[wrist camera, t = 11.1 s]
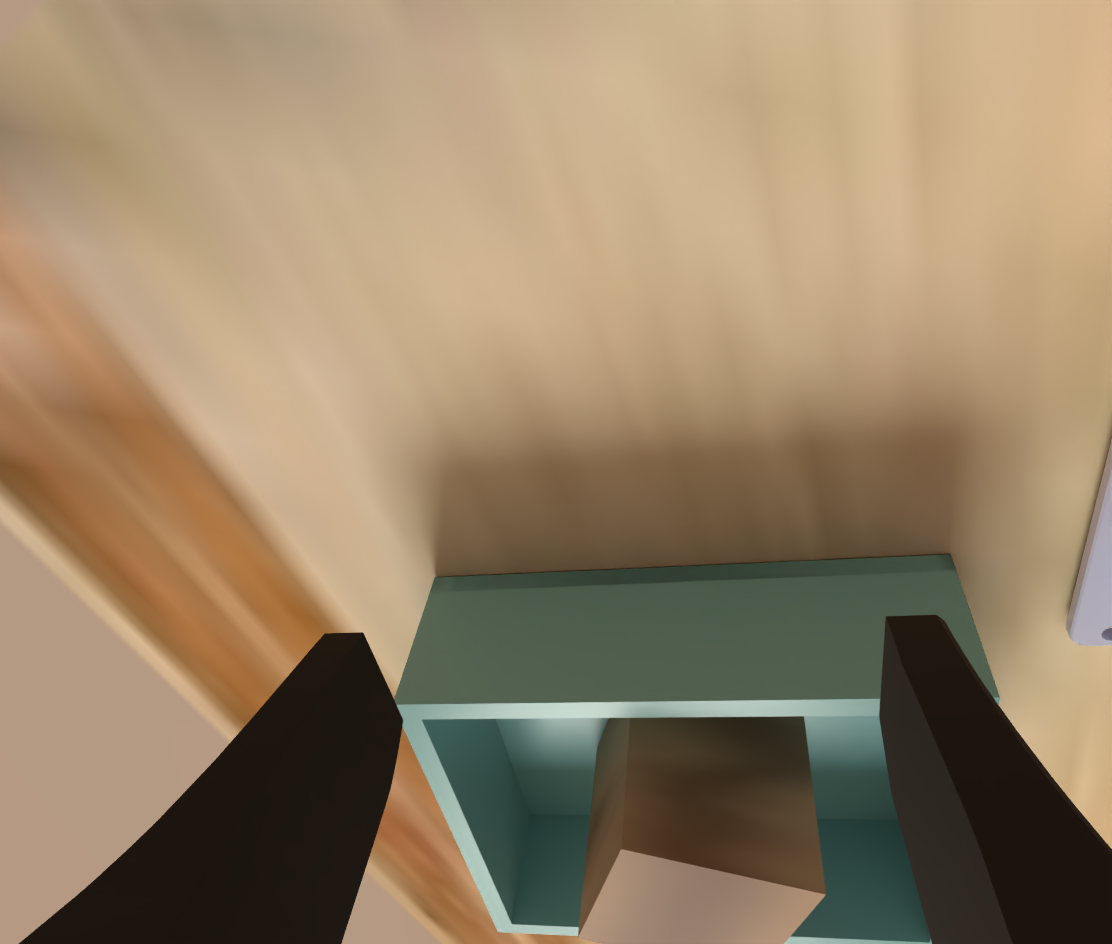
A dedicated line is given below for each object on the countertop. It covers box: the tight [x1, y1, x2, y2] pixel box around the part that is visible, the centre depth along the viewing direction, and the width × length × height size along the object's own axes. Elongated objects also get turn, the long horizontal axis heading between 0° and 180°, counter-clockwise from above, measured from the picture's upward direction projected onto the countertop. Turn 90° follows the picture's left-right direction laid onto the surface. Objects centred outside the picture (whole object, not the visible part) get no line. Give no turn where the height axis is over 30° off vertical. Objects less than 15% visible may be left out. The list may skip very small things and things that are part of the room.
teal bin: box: [394, 554, 1000, 944], centre depth 25 cm, size 14×12×4 cm
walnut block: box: [578, 716, 826, 944], centre depth 24 cm, size 5×5×6 cm
